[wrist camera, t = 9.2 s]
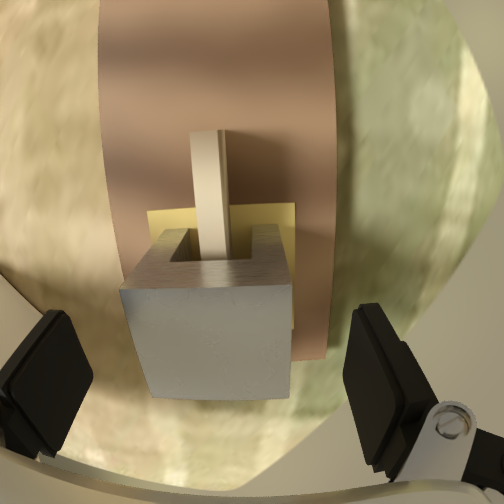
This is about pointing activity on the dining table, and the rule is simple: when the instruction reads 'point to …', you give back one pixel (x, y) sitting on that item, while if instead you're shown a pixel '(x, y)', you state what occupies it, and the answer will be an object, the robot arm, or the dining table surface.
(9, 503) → the robot arm
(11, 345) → the milk carton
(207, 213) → the rail board
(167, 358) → the notched grey block
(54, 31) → the dining table surface
